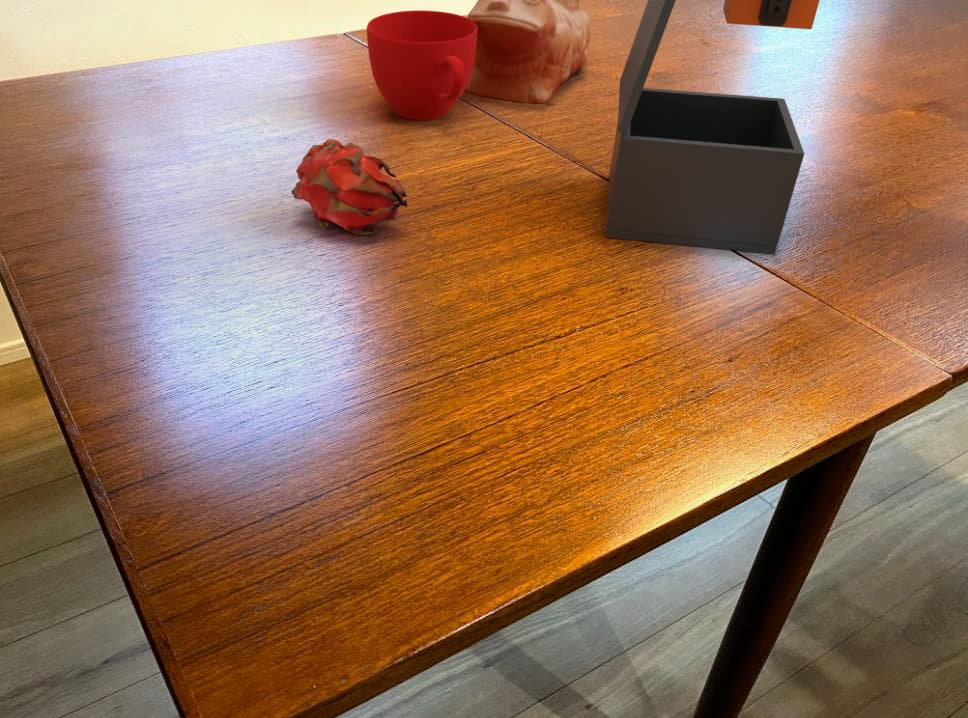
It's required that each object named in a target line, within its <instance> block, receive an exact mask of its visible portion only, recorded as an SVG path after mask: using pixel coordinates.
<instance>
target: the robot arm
mask: <svg viewBox="0 0 968 718" xmlns="http://www.w3.org/2000/svg"><path fill="white" fill-rule="evenodd" d="M790 4H791V0H762V4H761V8H760V12H759V16H758V20H759V22H760V24H762V25H769V26H782V25H784V24H785V22H786V20H787V16H788V12H789V8H790ZM769 26H768V27H769Z"/></svg>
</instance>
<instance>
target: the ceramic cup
mask: <svg viewBox="0 0 968 718" xmlns="http://www.w3.org/2000/svg"><path fill="white" fill-rule="evenodd" d="M477 32H478V27H477V25H476V23H475V22H473V21H472V20H470V19H468V17H466V16H463V15H460V14H456V13H451V12H445V11H439V10H424V9H423V10H400V11H395V12H389V13H384V14H381V15H378V16H375V17H374V18H372V19H371V20H369V21H368V23H367V24H366V41H367V50H368V58H369V64H370V69H371V73H372V76H373V80H374V83H375V85H376V88H377V89H378V92H379V93H380V94H381V96H382V97H383V99H384V100H385V101H386V103H387V104H388V105H389V106H390V107H391V108H392V109H393V110H394V113H395V114H396V115H398V116H400V117H402V118H405V119H409V120H415V121H430V120H431V121H432V120H436V119H439V118H442V117H444V116H446V115H447V114H448V113H449V111H450V110H451V109H452V108H453V107H454V106H455V105H456V103H458V101H459V100H460V99H461V97H462V95H463V94H464V93H465V92H466V91H465V89H466V87H467V85H468V82H469V80H470V77H471V73H472V69H473V64H474V59H475V52H476V43H477Z"/></svg>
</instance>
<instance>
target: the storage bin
mask: <svg viewBox="0 0 968 718" xmlns="http://www.w3.org/2000/svg"><path fill="white" fill-rule="evenodd" d="M615 129H616V130H615V136H614V141H613V142H614V143H613V148H612V155H611V162H610V169H609V175H608V189H607V202H606V220H605V221H606V222H605V238H607V239H619V240H626V241H627V240H628V241H629V240H630V241H636V242H637V241H638V242H648V243H649V242H650V243H658V244H667V245H668V244H669V245H679V246H688V247H699V248H709V249H718V250H726V251H738V252H747V253H757V254H767V255H776V253H777V252H776V251H777V248H778V245H779V241H780V238H781V234H782V231H783V228H784V224H785V221H786V218H787V215H788V211H789V207H790V204H791V201H792V197H793V194H794V192H795V191H794V190H795V187H796V184H797V181H798V178H799V174H800V171H801V167H802V164H803V160H804V157H805V151H804V149H803V145H802V143H801V139H800V138H799V137H800V136H799V135H798V132H797V130H796V127H795V124H794V121H793V118H792V114H791V113H790V110H789V108H788V104H787V102H786V99H785V98H779V97H768V96H756V95H755V96H754V95H743V94H742V95H741V94H731V93H730V94H729V93H716V92H714V93H713V92H705V91H703V92H702V91H691V90H690V91H689V90H678V89H677V90H676V89H664V88H651V87H643V90H642V92H641V95H640V98H639V101H638V103H637V106H636V109H635V111H634V114H633V117H632V119H631V122H630V125H629V127H628V130H627V133H626V134H625V133H621V132H618V121H617V122H616V128H615Z"/></svg>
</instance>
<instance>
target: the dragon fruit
mask: <svg viewBox="0 0 968 718" xmlns="http://www.w3.org/2000/svg"><path fill="white" fill-rule="evenodd" d="M390 167H391V166H390V165H389V164H388V163H387V162H385V161H384V160H382V159H381V158H379V157H376V156H372V155H365V154H364V149H363V148H362V147H361V146H359V145H358V144H354V143H353V142H350V143H347V144H345V145H343V144H342V142H340V140H338V139H336V138H335V139H334V138H328V139H326V140H325V141H324V142H323V143H322V144H312V146H311V147H310V148H309V150H308V152H307V153H306V154H305V155H304V156H303V157H302V161H301V162H300V164H299V165H298V166H297V168H296V169H295V172H296V175H297V178H298V179H299V181H298V182H297V183H295V186H294V187H293V188H292V189H291V191H290V192H291V194H292V196H293V199H294V200H303V201H305V202H307V203H308V204H309V205H310V207H311V209H312V215H313V217H314V219H315V221H316V223H317V225H318V226H319V228H320V229H323V230H325V229H326V228H327V227H328V226H329V222H332V223H334V224H336V225H337V226H339V227H342V228H343V229H344V230H346V231H347V232H350V233H353V234H354V235H357V236H371V235H374V234H377V233H380V231H379V230H377V229H375V228H371V227H366V225H373V224H376V222H385V221H388V220H392V221H396V220H397V217H398V215H399V209H400V207H405V208H408V206H409V205H408V201H407V200H406V199H405V200H404V198H407V197H408V196H409V195H408V194H406V191H405V190H404V187H403V185H402V183H400V181H399V180H398V179H395V178H397V175H396V174H394V173H392V172H391V171H390V170H391V168H390ZM381 169H384V171H385V173H387V174H384V173H382V172H381V171H380V170H381Z"/></svg>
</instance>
